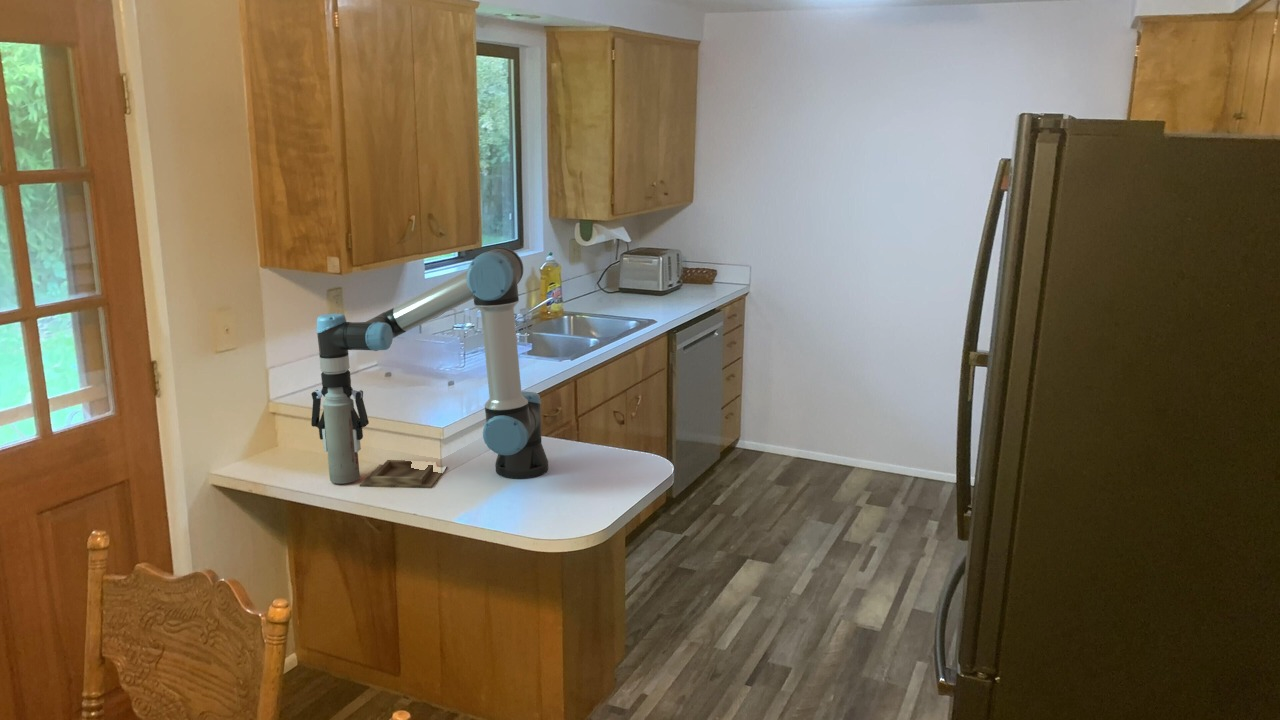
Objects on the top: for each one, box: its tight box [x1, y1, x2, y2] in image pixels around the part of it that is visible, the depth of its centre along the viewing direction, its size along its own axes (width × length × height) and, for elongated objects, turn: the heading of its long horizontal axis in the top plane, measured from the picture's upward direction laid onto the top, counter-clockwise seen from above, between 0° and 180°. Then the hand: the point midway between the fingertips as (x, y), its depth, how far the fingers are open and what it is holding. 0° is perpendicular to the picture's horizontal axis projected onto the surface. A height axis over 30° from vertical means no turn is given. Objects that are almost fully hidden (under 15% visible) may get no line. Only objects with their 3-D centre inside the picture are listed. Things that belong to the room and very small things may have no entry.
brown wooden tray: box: [359, 459, 443, 489], centre depth 260 cm, size 20×16×2 cm
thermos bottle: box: [322, 387, 361, 484], centre depth 254 cm, size 8×8×28 cm
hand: (342, 450), depth 255 cm, fingers closed on thermos bottle, 8 cm apart
